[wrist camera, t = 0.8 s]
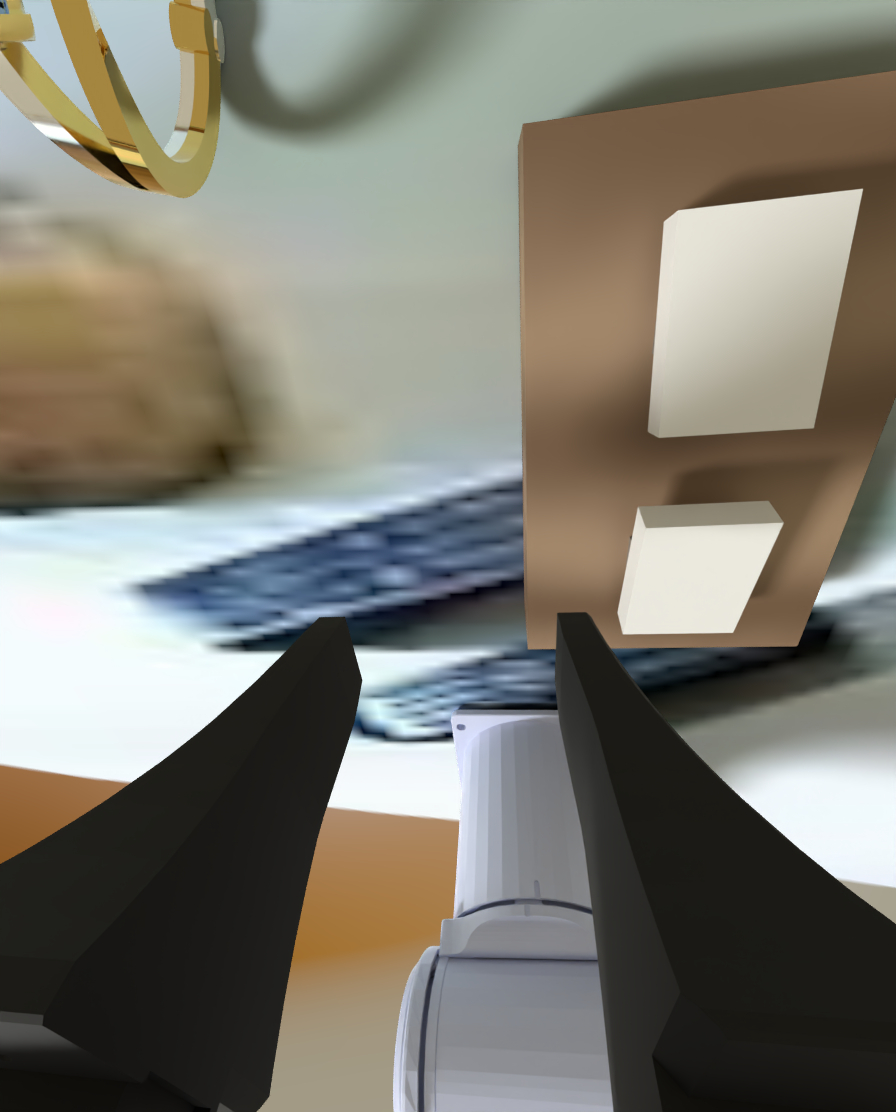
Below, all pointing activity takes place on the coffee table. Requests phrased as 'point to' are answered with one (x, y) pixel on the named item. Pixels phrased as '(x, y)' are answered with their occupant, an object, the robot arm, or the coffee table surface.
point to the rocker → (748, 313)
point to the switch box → (629, 336)
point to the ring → (120, 97)
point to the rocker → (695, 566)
